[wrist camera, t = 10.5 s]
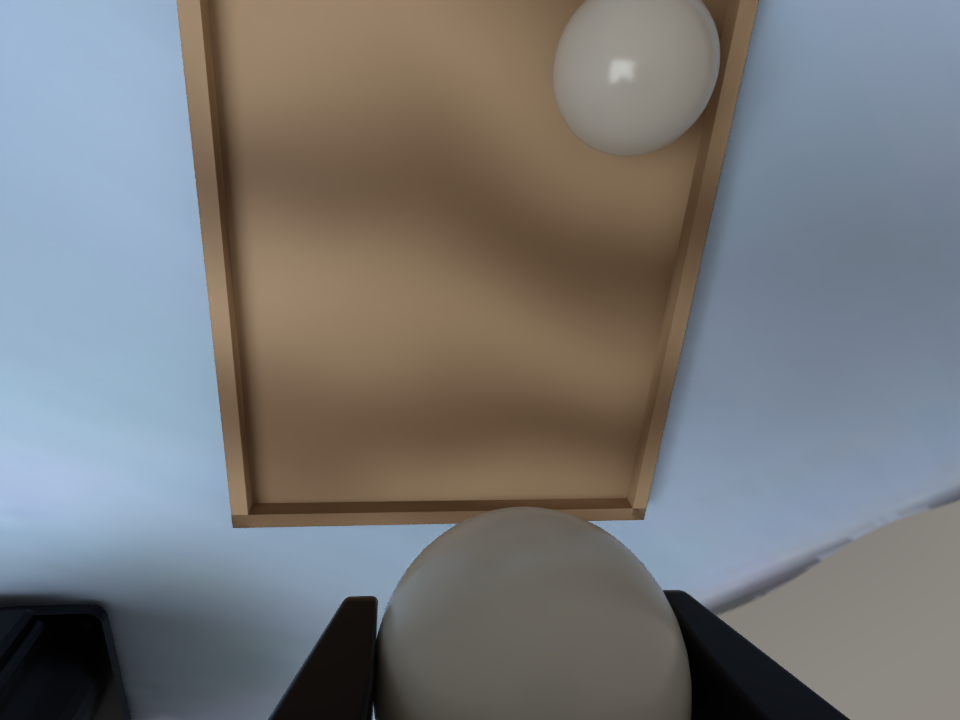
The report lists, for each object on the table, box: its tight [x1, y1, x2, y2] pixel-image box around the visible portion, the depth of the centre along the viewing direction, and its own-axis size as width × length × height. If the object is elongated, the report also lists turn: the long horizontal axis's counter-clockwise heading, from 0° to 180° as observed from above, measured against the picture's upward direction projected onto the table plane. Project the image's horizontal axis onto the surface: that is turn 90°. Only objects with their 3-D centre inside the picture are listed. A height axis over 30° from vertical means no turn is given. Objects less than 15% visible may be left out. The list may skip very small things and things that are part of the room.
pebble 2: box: [552, 0, 720, 157], centre depth 13 cm, size 4×4×4 cm
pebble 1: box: [373, 507, 692, 720], centre depth 7 cm, size 4×4×4 cm
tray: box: [177, 0, 759, 528], centre depth 16 cm, size 20×14×1 cm
